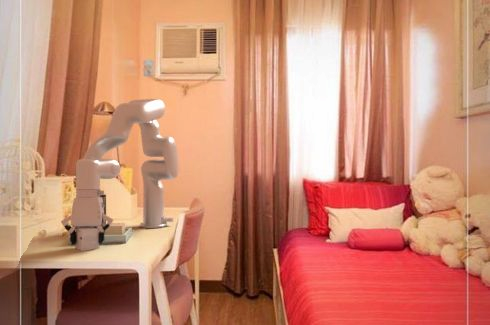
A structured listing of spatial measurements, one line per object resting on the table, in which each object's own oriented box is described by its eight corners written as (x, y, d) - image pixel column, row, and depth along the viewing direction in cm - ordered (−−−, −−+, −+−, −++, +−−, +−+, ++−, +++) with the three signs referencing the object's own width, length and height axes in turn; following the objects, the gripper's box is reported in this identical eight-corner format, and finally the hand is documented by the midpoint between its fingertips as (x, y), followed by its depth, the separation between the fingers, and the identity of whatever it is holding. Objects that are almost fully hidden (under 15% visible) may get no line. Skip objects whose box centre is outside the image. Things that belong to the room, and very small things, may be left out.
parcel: (125, 235, 131) (125, 222, 131) (122, 238, 125) (122, 225, 125) (109, 235, 129) (109, 223, 129) (105, 239, 124) (105, 226, 124)
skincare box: (75, 248, 114) (75, 227, 114) (93, 244, 118) (93, 224, 118) (81, 251, 110) (81, 229, 110) (99, 248, 114) (99, 227, 114)
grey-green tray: (131, 234, 135) (131, 227, 135) (125, 243, 121) (125, 235, 121) (80, 236, 131) (80, 229, 131) (68, 245, 117) (68, 237, 117)
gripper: (116, 192, 119) (115, 240, 119) (65, 193, 116) (64, 241, 116) (111, 194, 112) (111, 245, 112) (56, 195, 109) (56, 247, 109)
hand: (87, 243), depth 114 cm, fingers closed on skincare box, 8 cm apart
